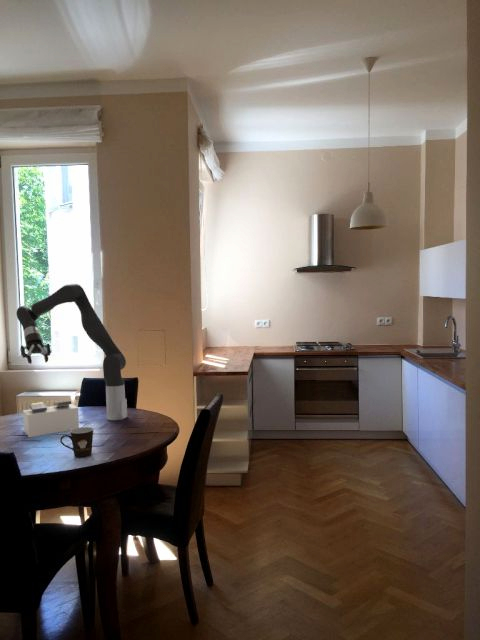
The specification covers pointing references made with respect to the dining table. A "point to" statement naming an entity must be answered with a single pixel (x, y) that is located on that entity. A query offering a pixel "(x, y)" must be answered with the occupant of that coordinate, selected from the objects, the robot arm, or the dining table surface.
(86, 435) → the coffee mug
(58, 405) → the block
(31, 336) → the robot arm
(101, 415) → the dining table surface
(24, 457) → the dining table surface
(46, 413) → the switch box
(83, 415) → the dining table surface
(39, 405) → the rocker outer
